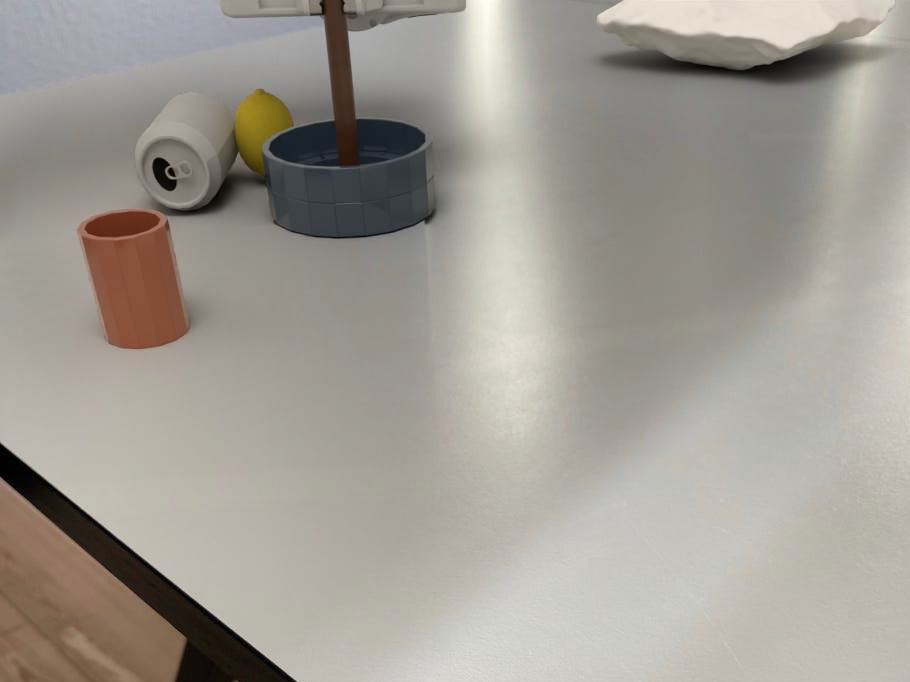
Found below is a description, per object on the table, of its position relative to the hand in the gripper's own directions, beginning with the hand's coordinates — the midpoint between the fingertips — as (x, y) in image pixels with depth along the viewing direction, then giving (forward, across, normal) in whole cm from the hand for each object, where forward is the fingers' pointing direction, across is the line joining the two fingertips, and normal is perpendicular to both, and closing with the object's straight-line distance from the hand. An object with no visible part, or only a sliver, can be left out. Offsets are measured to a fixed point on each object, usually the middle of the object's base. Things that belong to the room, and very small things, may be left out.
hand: (332, 3), depth 86 cm
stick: (-1, 0, +14) cm, 15 cm away
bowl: (-1, 0, +16) cm, 16 cm away
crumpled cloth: (-49, +41, +16) cm, 66 cm away
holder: (+23, -12, +16) cm, 31 cm away
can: (-13, -15, +13) cm, 24 cm away
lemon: (-10, -9, +17) cm, 21 cm away
